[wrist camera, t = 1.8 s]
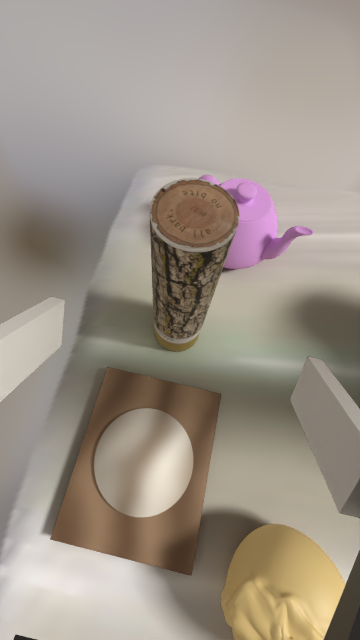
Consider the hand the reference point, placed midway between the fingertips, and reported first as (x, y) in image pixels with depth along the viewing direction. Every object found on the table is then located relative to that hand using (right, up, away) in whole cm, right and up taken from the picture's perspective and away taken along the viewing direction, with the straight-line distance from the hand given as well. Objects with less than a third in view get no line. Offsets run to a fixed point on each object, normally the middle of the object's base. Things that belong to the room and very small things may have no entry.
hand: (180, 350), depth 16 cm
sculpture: (+10, -28, +18) cm, 35 cm away
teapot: (+9, +14, +37) cm, 40 cm away
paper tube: (-1, 0, +30) cm, 30 cm away
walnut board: (-4, -16, +22) cm, 28 cm away
